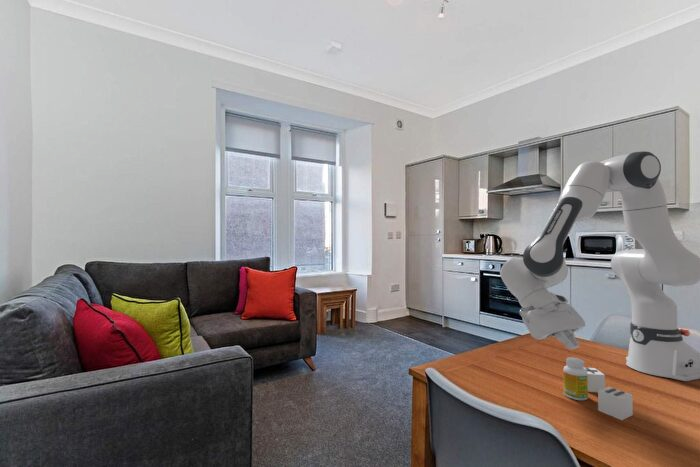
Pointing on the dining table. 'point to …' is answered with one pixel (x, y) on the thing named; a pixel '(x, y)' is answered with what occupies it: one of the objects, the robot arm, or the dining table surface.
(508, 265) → the robot arm
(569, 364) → the supplement bottle
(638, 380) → the dining table surface
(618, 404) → the marked block front
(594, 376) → the marked block back
